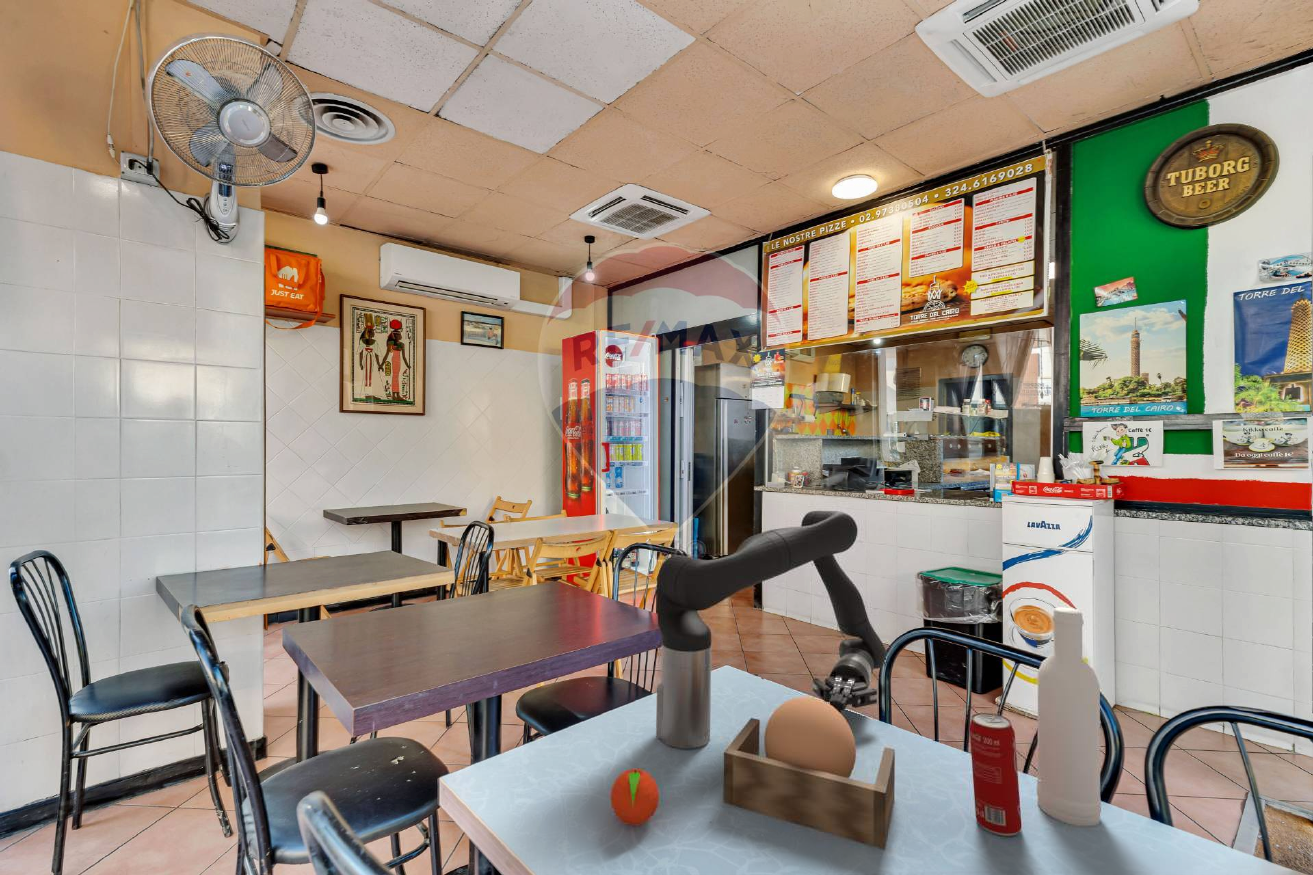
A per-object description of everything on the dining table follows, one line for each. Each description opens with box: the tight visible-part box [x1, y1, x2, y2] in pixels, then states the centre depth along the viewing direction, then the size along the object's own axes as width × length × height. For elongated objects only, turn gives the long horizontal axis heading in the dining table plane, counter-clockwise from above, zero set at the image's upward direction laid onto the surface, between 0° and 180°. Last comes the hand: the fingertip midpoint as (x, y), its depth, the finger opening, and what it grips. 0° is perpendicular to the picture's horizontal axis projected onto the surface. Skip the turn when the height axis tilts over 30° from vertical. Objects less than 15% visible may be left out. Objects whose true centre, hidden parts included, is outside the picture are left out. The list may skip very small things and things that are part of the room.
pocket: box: [722, 717, 896, 850], centre depth 92 cm, size 23×14×8 cm, turn 63°
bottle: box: [1036, 606, 1102, 828], centre depth 90 cm, size 8×8×30 cm
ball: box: [763, 696, 857, 778], centre depth 95 cm, size 14×14×14 cm
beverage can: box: [969, 712, 1023, 837], centre depth 86 cm, size 6×6×15 cm
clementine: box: [610, 768, 660, 826], centre depth 85 cm, size 8×7×7 cm
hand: (836, 706), depth 112 cm, fingers closed
